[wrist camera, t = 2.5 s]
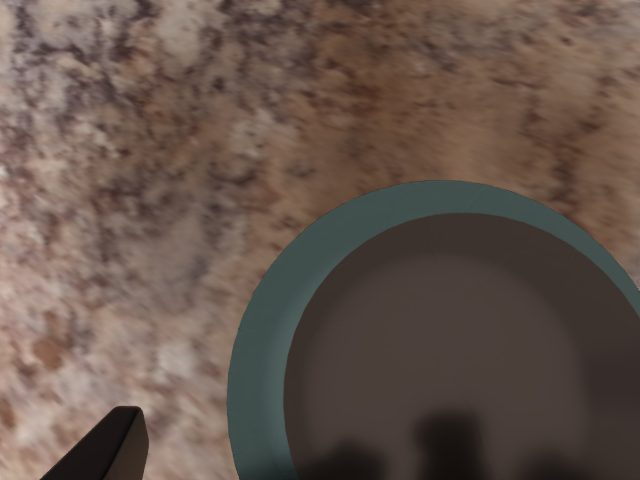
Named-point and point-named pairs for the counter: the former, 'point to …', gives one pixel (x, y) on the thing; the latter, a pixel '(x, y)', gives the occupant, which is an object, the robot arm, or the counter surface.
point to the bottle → (439, 346)
